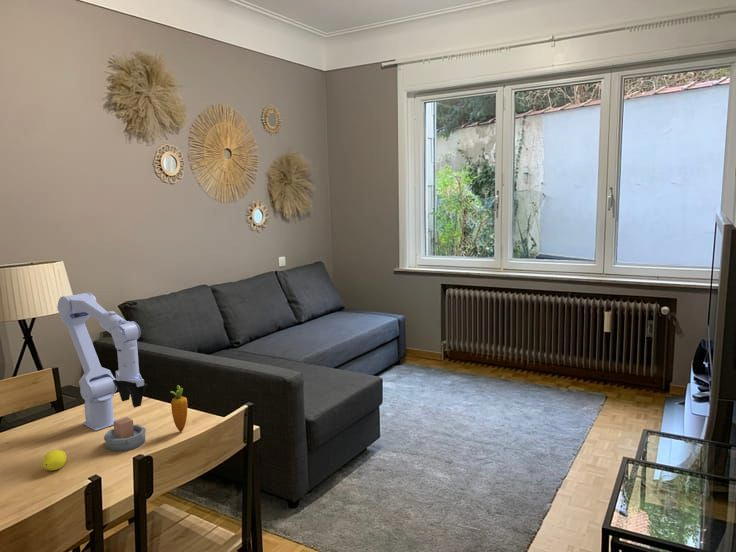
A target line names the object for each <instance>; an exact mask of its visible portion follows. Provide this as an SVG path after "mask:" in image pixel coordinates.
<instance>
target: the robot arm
mask: <svg viewBox="0 0 736 552" xmlns="http://www.w3.org/2000/svg"><path fill="white" fill-rule="evenodd" d="M56 306H57V311H58V314H59V315H60V316H59V317H60V319H61V322H62V324H64V325H66V327H67V330H68V333H69V335H70V338H71V341H72V344H73V347H74V348H75V351H76V354H77V357H78V359H79V362H80V364H81V367H82V370H83V374H82V376H81V377H80V378H79V381H78V384H79V388H80V390H79V391H80V396H81V397H82V399H83V400H84V405H83V406H84V417H85V420H84V421H83V422H82V424H83V425H84V426H86V427H88V428H90V429H92V430H93V431H95V432H96V431H99V430H103V429H105V428H109V427H110V426H111V427H112V426H114V422H113V421H115V420H116V419H115V418H114V417H115V416H114V415H115V414H114V403H113V397H114V396H115V393H116V392H118V393H119V397H120V400H121V402H127V401H129V400H130V398H131V403H132V406H133V408H138V407H141V406H142V402H143V396H144V394H145V391H146V389H147V387H148V383H145V379H143V378H142V375H141V373H140V367H139V350H138V340H139V339H140V337H141V334H142V333H141V327H140V325H139V324H138V323H137V322H136V321H134V320H132V321H130V320H128V321H127V320H126V319H125V318H123V317H121V316H120V315H119V314H117V312H115V311H114V310H112V311H111V310H110V311H107V310H106V309H105V308H103V306H102V305H101V304H99V303H98V301H97V298H96V296H95V295H94V294H93V293H91V292H89V291H88V292H84V293H83V292H82V293H78V294H73V295H66V296H64V295H63V296H60V297H59V299H58V301H57V305H56ZM90 317H93V318H94V319H96V320H98V321H99V322H98V323H99V326H100V327H101V329H104V330H105V331H107V332H108V333H110V334H111V339H112V340H113V342H114V347H115V349H116V352H117V364H118V369H117V370H116V371H115V376H114V375H113V373H112V371H111V370H110V369H108V368H105V367H102V365H101V363H100V360H99V357H98V354H97V352H96V349H95V346H94V344H93V340H92V339H91V336H90V333H89V331H88V329H87V326H86V321H87V320H89V319H90Z"/></svg>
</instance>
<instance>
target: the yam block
mask: <svg viewBox="0 0 736 552" xmlns="http://www.w3.org/2000/svg"><path fill="white" fill-rule="evenodd" d="M113 422H114V425H113V429H114V434H115V437H116V438H118V439H125V438H129V437H132V436H134V428H133V425H134V419H131V418H130V417H127V416H125V417H122V418H119V419H115V421H113Z"/></svg>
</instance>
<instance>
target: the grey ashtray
mask: <svg viewBox="0 0 736 552" xmlns="http://www.w3.org/2000/svg"><path fill="white" fill-rule="evenodd" d="M133 428H134V436H132V437H129V438H125V439H118V438H116V437H115V434H114V428H111V429H109V430H108V431H107V432H106V433H105V434H103V440H104V442H105V448H106V450H107V451H110V452H115V453H117V452H118V453H119V452H121V453H122V452H128V451H131V450H135V449H136V448H140V447H141V446H143V445H144V444H145V442H146V432H147V430H146V427H145V426H143V425H141V424H137V423H136V424H133Z"/></svg>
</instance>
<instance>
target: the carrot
mask: <svg viewBox="0 0 736 552" xmlns="http://www.w3.org/2000/svg"><path fill="white" fill-rule="evenodd" d="M176 389H177V390H176V392H175V391H172V390H170V391H169V392H170V394H173V396H175V397H174V398H172V400H171V402H170V404H171V405H170V406H171V413H172V418H173V419H172V420H173V422H174V425H175V428H177V430H178V431H179V432H180V433H182V432H183V430H184V429H185V426H186V424H187V423H186V422H187V420H188V399H187V397H185V396H182V394H183V391H184V388H183V387H181V386H180V385H177V386H176Z"/></svg>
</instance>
